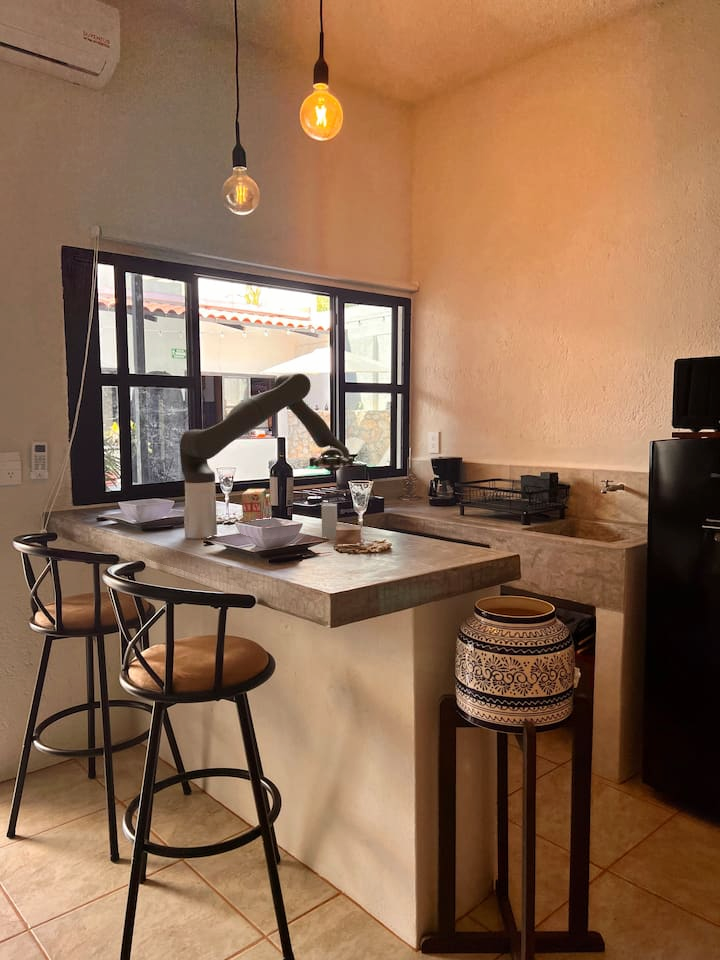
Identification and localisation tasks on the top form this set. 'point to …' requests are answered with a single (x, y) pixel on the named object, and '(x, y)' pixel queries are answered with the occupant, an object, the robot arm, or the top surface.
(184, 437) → the robot arm
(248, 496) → the tan printed box
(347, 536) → the walnut base block
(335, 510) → the tall grey block
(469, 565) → the top surface
